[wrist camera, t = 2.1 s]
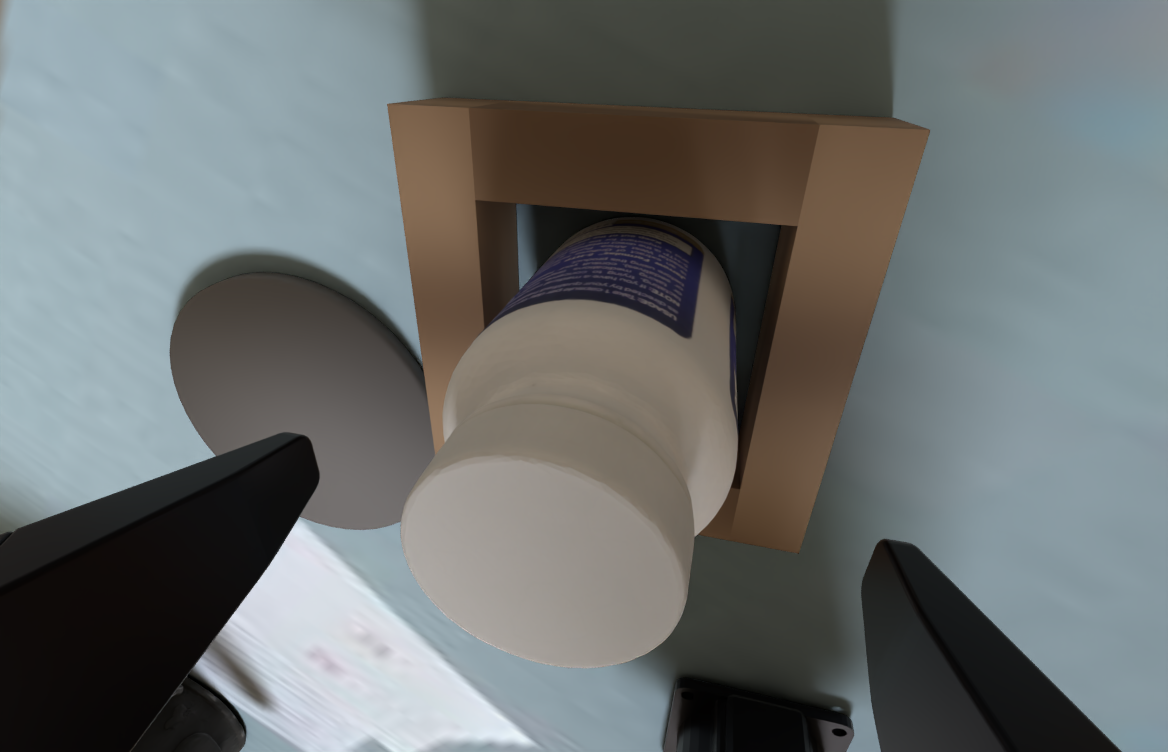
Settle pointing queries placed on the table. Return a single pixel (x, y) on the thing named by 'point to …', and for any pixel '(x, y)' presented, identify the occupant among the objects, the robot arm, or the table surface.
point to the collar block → (685, 189)
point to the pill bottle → (584, 451)
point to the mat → (307, 389)
